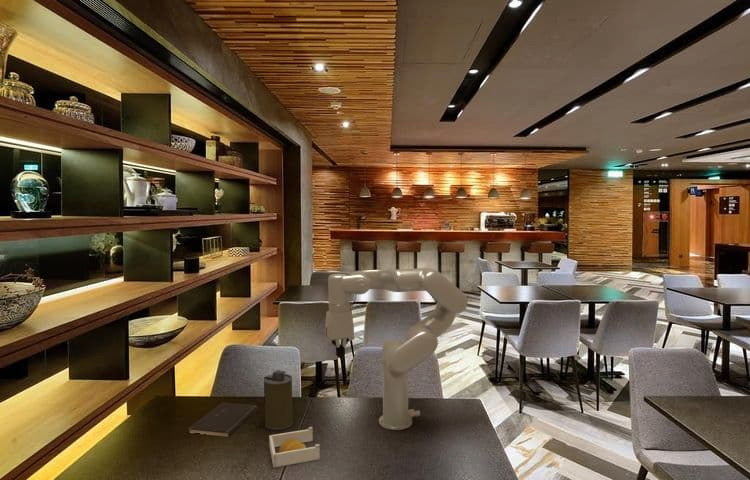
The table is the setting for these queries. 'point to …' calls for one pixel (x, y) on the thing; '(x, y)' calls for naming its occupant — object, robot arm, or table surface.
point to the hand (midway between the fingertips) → (340, 356)
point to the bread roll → (291, 445)
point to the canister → (278, 400)
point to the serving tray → (293, 455)
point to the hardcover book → (224, 419)
